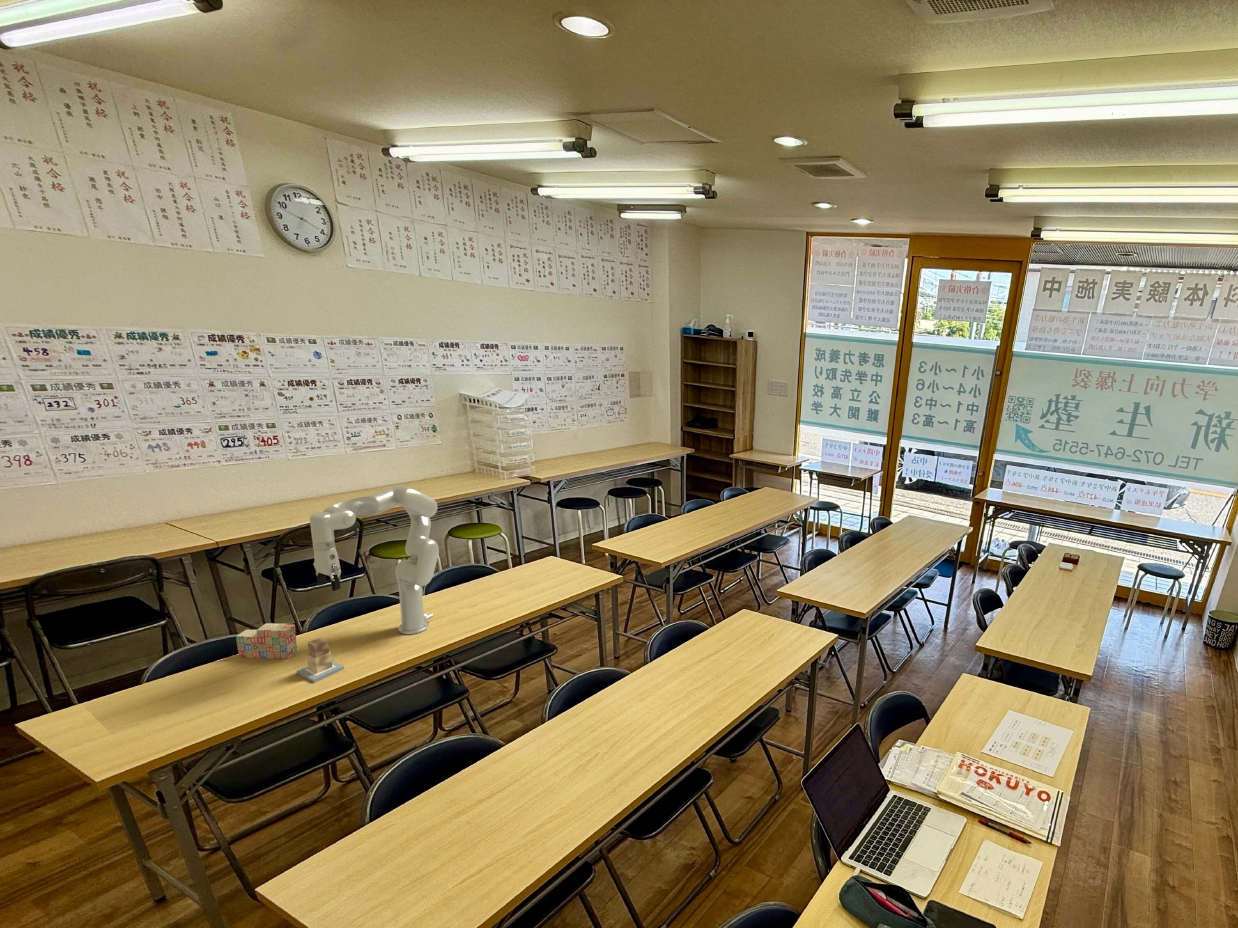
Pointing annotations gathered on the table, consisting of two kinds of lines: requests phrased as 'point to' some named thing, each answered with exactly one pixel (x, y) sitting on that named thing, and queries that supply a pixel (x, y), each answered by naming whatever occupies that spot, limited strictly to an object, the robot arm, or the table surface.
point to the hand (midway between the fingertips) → (329, 587)
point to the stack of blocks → (268, 642)
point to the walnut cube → (318, 647)
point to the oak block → (319, 663)
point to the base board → (316, 677)
